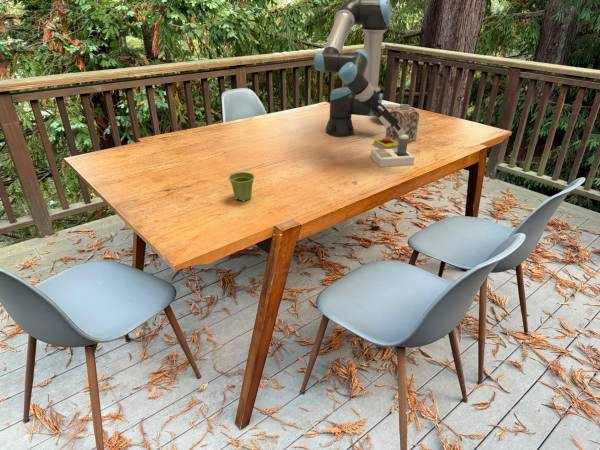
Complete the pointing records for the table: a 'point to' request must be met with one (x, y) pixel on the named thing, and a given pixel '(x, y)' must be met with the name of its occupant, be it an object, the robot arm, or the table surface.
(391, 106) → the ramen bowl
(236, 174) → the plant pot
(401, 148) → the capped grey bottle
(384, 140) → the emergency button
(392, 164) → the socket block
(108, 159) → the table surface
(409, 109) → the decorative jar
